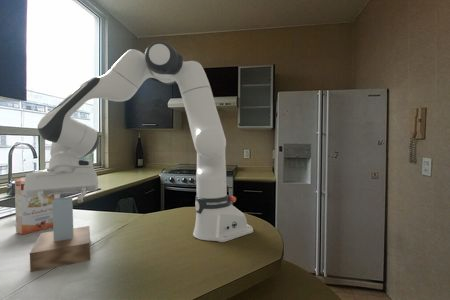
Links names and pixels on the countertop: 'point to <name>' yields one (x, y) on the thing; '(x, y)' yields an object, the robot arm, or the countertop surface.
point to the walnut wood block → (60, 250)
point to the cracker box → (32, 210)
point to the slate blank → (62, 218)
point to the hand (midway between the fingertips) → (62, 203)
